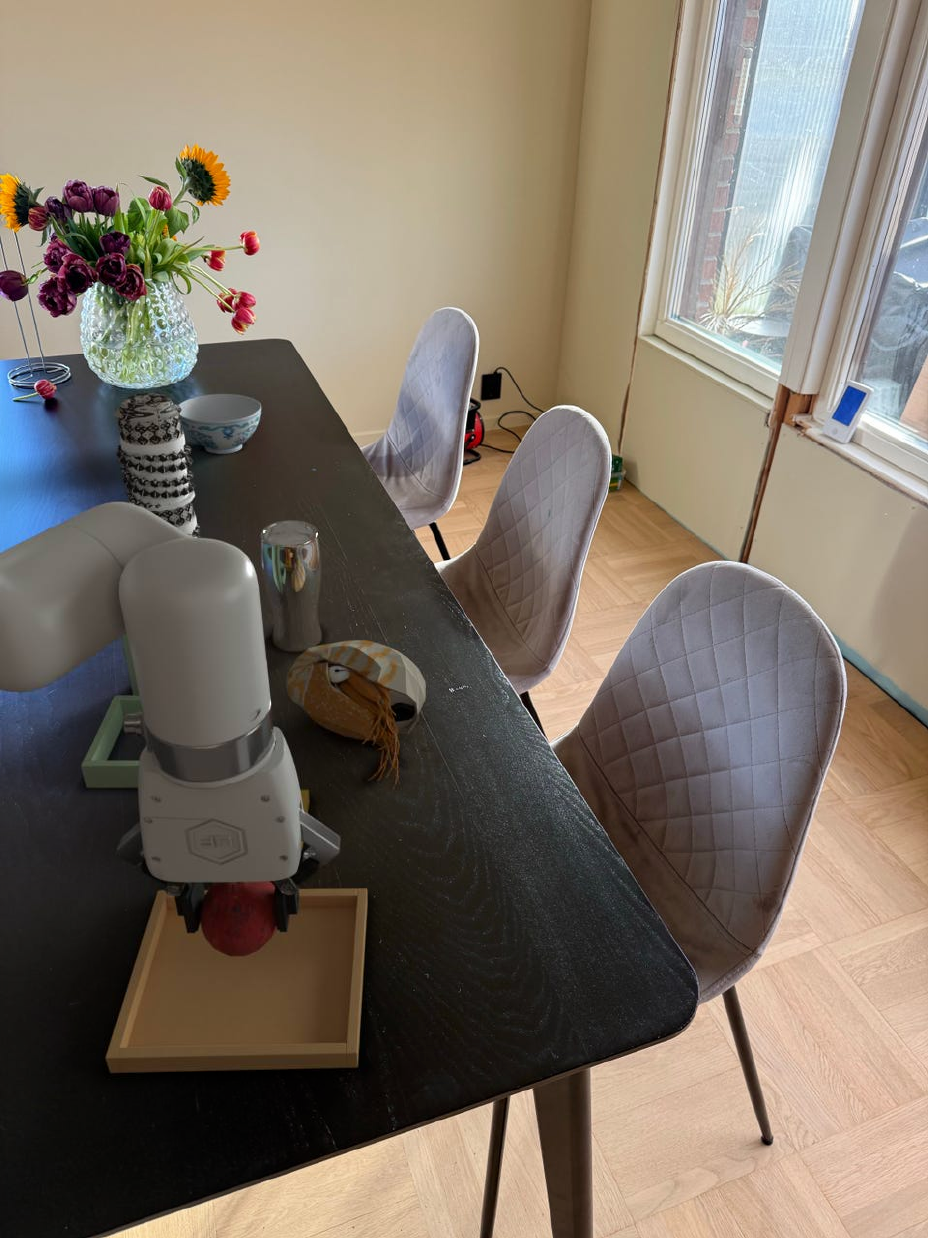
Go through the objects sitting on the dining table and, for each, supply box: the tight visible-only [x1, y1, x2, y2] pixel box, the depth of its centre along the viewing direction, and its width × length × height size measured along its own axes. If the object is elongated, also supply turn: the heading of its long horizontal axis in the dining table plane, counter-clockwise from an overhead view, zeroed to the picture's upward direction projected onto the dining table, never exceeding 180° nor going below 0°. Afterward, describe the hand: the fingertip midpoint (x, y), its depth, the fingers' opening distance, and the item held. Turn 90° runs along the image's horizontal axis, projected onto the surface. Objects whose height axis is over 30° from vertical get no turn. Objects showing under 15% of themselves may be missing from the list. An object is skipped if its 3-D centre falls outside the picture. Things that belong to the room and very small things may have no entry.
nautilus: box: [285, 639, 427, 790], centre depth 91 cm, size 8×22×15 cm
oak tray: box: [105, 888, 368, 1074], centre depth 67 cm, size 18×15×2 cm
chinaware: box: [177, 393, 262, 455], centre depth 157 cm, size 15×15×8 cm
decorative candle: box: [113, 392, 202, 538], centre depth 113 cm, size 9×9×25 cm
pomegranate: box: [200, 881, 277, 956], centre depth 63 cm, size 6×6×8 cm
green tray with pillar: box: [80, 635, 143, 789], centre depth 88 cm, size 11×18×15 cm, turn 3°
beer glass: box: [260, 520, 323, 653], centre depth 104 cm, size 7×7×15 cm
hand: (241, 915), depth 63 cm, fingers closed on pomegranate, 5 cm apart
